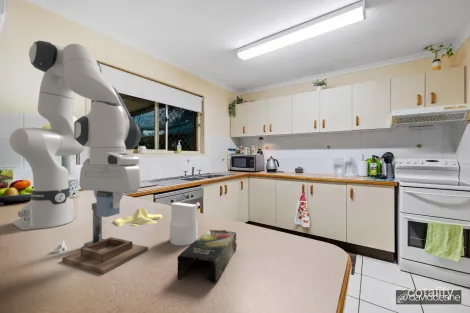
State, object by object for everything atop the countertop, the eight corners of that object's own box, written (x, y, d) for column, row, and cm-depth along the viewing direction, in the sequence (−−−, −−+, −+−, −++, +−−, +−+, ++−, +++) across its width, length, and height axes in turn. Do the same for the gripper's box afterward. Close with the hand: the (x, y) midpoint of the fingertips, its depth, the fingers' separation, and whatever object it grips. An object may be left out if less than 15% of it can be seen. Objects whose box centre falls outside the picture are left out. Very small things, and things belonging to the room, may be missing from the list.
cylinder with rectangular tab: (202, 237, 74) (202, 203, 74) (186, 247, 66) (186, 208, 66) (181, 233, 78) (182, 200, 78) (164, 242, 70) (164, 205, 70)
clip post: (84, 246, 67) (84, 204, 67) (99, 240, 71) (99, 201, 71) (94, 248, 65) (95, 206, 65) (110, 242, 69) (110, 202, 69)
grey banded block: (96, 215, 59) (96, 192, 59) (109, 212, 63) (109, 190, 63) (106, 217, 58) (106, 193, 58) (119, 213, 62) (119, 191, 62)
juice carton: (207, 244, 69) (208, 225, 69) (238, 248, 66) (238, 228, 66) (175, 281, 49) (175, 254, 49) (216, 288, 47) (216, 260, 47)
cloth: (103, 226, 87) (103, 211, 87) (134, 214, 105) (134, 201, 105) (151, 231, 82) (151, 215, 82) (175, 217, 100) (175, 204, 100)
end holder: (62, 261, 57) (62, 250, 57) (110, 241, 70) (110, 232, 70) (103, 274, 51) (103, 261, 51) (147, 250, 64) (148, 240, 64)
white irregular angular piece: (62, 254, 62) (62, 243, 62) (51, 254, 62) (51, 243, 62) (68, 249, 65) (68, 239, 65) (58, 250, 65) (58, 239, 65)
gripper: (72, 158, 62) (72, 206, 62) (124, 158, 54) (124, 213, 54) (94, 158, 67) (94, 202, 67) (144, 158, 60) (144, 207, 60)
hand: (108, 207), depth 61 cm, fingers closed on grey banded block, 4 cm apart
